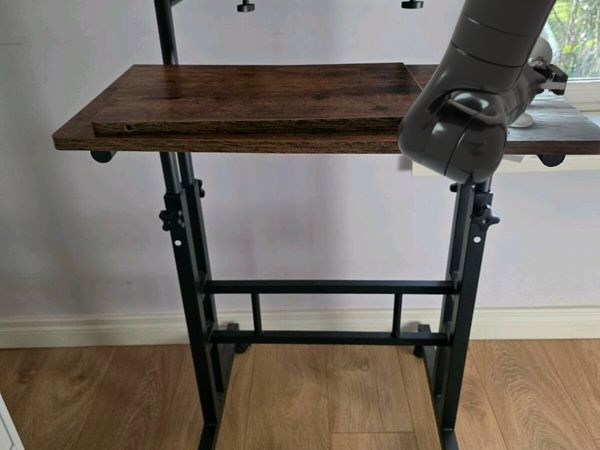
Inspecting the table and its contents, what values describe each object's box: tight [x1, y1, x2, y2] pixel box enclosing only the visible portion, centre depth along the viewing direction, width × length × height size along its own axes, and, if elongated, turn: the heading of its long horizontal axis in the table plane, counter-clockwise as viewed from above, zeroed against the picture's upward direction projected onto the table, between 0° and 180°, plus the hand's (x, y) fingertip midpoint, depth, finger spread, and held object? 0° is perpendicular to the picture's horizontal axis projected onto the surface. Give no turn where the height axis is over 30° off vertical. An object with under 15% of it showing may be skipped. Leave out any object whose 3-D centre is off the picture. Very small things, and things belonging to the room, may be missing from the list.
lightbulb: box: [530, 36, 554, 64], centre depth 83 cm, size 6×6×11 cm
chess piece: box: [509, 58, 534, 128], centre depth 77 cm, size 5×5×10 cm
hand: (530, 62), depth 77 cm, fingers closed on chess piece
